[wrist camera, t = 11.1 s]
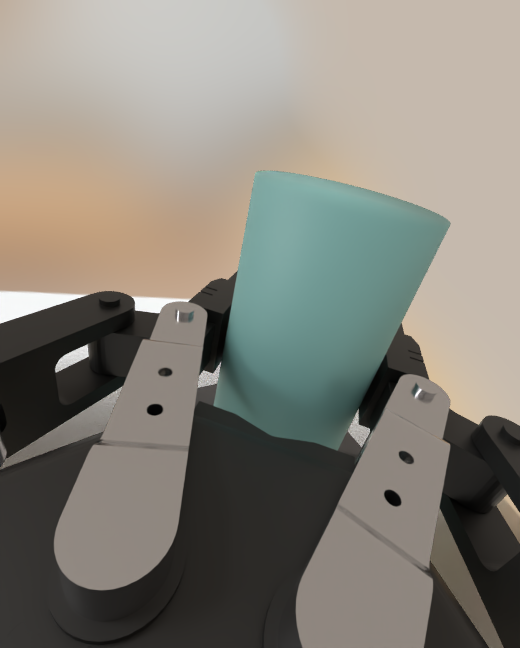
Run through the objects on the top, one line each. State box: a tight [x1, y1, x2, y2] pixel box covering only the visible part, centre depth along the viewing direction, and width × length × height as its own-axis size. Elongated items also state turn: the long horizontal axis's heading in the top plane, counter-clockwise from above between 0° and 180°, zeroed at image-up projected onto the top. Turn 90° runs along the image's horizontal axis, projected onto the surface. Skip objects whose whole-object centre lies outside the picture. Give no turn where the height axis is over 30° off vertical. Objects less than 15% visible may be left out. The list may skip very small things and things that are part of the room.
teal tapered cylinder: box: [214, 171, 450, 451], centre depth 11 cm, size 5×5×12 cm
